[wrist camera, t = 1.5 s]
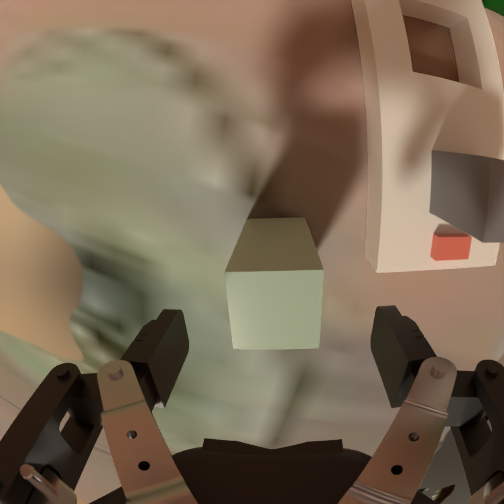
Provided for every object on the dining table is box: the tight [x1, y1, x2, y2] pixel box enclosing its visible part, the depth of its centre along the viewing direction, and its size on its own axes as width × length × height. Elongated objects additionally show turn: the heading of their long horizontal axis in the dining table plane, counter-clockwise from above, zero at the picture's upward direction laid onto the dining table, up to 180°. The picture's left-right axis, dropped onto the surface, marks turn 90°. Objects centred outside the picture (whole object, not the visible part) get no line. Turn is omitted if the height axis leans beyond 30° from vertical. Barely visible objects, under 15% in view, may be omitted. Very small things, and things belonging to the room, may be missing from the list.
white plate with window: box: [351, 0, 504, 273], centre depth 12 cm, size 22×11×9 cm, turn 3°
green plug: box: [225, 217, 324, 349], centre depth 17 cm, size 4×4×9 cm
